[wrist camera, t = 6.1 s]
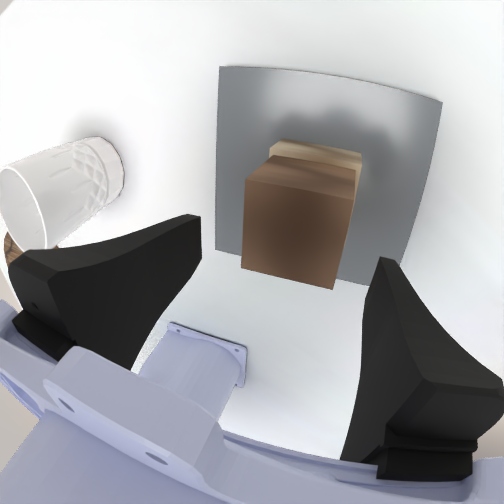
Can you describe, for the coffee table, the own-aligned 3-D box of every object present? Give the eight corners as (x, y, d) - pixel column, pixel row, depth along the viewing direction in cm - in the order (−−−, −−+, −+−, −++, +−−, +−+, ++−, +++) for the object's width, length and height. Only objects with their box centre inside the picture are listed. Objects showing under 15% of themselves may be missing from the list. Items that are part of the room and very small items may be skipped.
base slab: (221, 242, 26) (215, 249, 25) (226, 66, 18) (219, 66, 17) (388, 281, 22) (389, 290, 21) (437, 101, 15) (442, 102, 14)
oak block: (275, 209, 21) (262, 228, 19) (282, 138, 18) (269, 147, 16) (346, 224, 20) (344, 246, 18) (361, 153, 17) (362, 165, 15)
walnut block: (266, 227, 19) (241, 267, 15) (273, 154, 16) (244, 179, 12) (340, 243, 18) (332, 289, 14) (355, 169, 15) (354, 200, 11)
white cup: (94, 215, 29) (25, 265, 21) (64, 150, 26) (-13, 187, 18) (142, 193, 26) (60, 249, 18) (108, 115, 23) (14, 148, 15)
